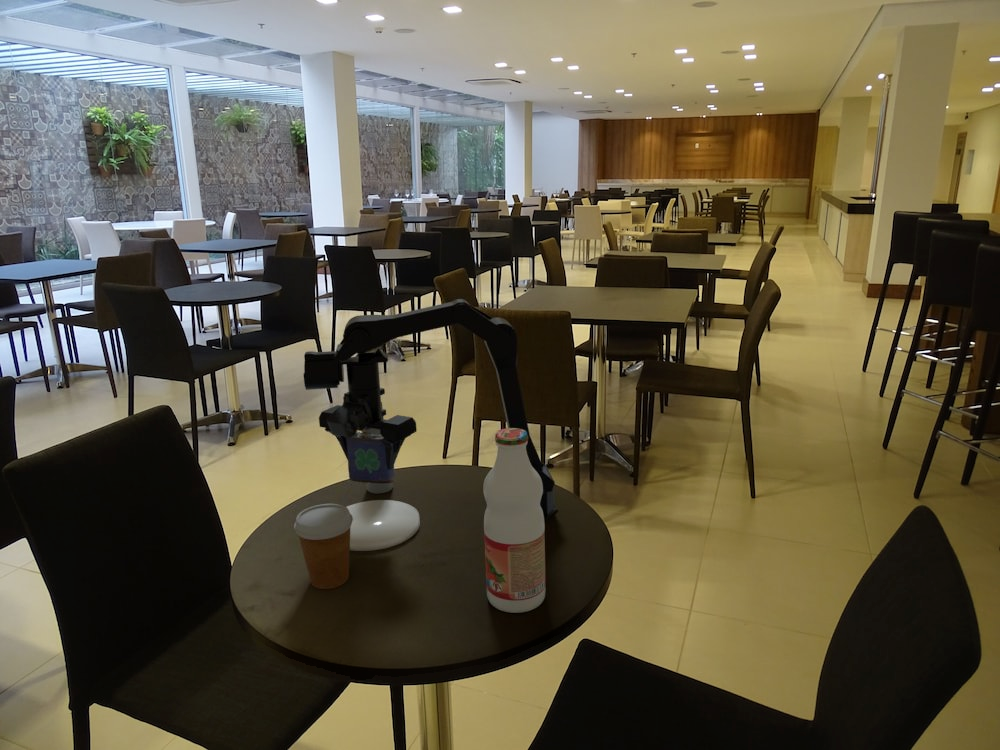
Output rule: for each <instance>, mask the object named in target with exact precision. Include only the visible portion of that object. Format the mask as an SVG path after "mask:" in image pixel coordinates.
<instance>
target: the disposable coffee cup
mask: <svg viewBox="0 0 1000 750" xmlns="http://www.w3.org/2000/svg"><path fill="white" fill-rule="evenodd" d="M352 521H353V517H352V515H351V514H350V512H349V510H348V508H347V506H346V505H342V504H338V503H323V504H317V505H312V506H311V507H308V508H305V509H303V510H302V511H300V512H299V513H298V514H297V515H296V517H295V522H294V524H293V529H294V531H295V532H296V534H297V536H298V538H299V542H300V546H301V550H302V554H303V558H304V561H305V565H306V568H307V573H308V576H309V580H310V584H311V585H312V587H313V588H316V589H320V590H331V589H332V590H333V589H335V588H338V587H340V586H342V585H344V584H345V583H346V582H347V581H348V580H349V577H350V574H349V573H350V572H349V571H350V554H351V553H350V551H351V550H350V527H351V524H352Z"/></svg>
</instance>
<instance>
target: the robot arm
mask: <svg viewBox="0 0 1000 750" xmlns="http://www.w3.org/2000/svg"><path fill="white" fill-rule="evenodd" d="M454 325H460V326H463V327H464V328H466V329H467V330H468V331H470V332H471V333H473V334H474V335H476V336H477V337H478V338H480V339H482V340H483V341H484V344H485V346H486V349H487V351H488V354H489V356H490V359H491V361H492V363H493V366H494V368H495V372H496V377H497V382H498V387H499V391H500V395H501V396H500V397H501V402H502V407H503V411H504V415H505V420H506V421H505V422H506V425H507V428H519V429H523V430H525V431H526V432H527V434H528V443H527V445H526V451H527V455H528V458H529V461H530V463H531V465H532V467H533V468H534V469H535V470H536V472H537V473H538V474H539V476H540V477H541V480H542V485H543V493H542V497H541V501H540V506H541V508H542V511H543V515H544V522H546V521H547V520H548V519H549V518H550V517H551V516H552V515H553V514H554V513H555V512H556V511H557V510H558V506H557V505H555V504H554V503H555V501H554V499H555V497H554V496H555V495H554V486H555V485H556V484H555V483H556V482H555V480H554V478H553V476H552V475H551V473H550V471H549V469H548V467H547V465H546V464H545V463H543V462H542V460H541V458H540V456H539V454H538V451H537V449H536V447H535V444H534V442H533V440H532V438H531V434H530V430H529V425H528V419H527V415H526V410H525V404H524V399H523V394H522V389H521V384H520V379H519V375H518V370H517V368H518V366H517V365H518V357H519V351H518V350H519V349H518V348H519V345H518V344H519V343H518V342H519V341H518V334H517V332H516V330H515V328H514V327H513V326H512V324H510V322H509V321H508V320H506V319H504V318H503V317H492V316H490V315H489V314H487V313H486V312H484V311H482V310H480V309H479V308H477V307H475V306H473V305H471V304H470V303H469V302H468V301H467V300H466V299H463V298H458V299H454V300H452V301H450V302H444V303H441V304H436V305H432V306H426V307H423V308H418V309H413V310H408V311H403V312H401V313H397V314H387V315H386V314H364V315H363V314H362V315H359V314H358V315H355V316H353V317H351V318H350V319H349V320H348V321H347V323H346V324H345V326H344V329H343V335H342V340H341V341H340V343H338V344H337V346H336V349H335V350H332V351H330V350H329V351H313V350H312V351H305V352H304V357H303V358H304V366H303V367H304V370H303V371H304V372H303V382H304V388H305V390H306V391H309V390H323V389H324V390H325V389H339V385H341V383H344V382H345V371H344V370H345V369H344V365H345V366H346V375H347V376H346V377H347V379H346V380H347V389H348V391H346V392H345V393H343V397H342V398H343V403H342V404H341V405H338V404H336V405H335V406H332V407H329V408H327V409H324V410H322V411H321V412H320V413H319V414H320V415H319V416H318V423H319V428H324V430H325V432H327V433H329V434H332V436H334V437H336V438H335V439H337V441H338V443H339V445H340V448H341V449H342V451H343V454H344V456H345V459H346V460H347V461H348V453H347V441H346V438H350V437H352V436H354V435H355V433H356V431H357V432H362V431H363V429H364V428H365V427H369V428H375V429H380V434H381V435H382V437H383V439H381V440H380V441H381V442H382V443H383V444H384V445H385V454H386V464H387V469H388V470H391V469H392V468H393V466H394V467H395V463H396V461H397V458H398V455H399V454H400V450H401V448H402V446H403V444H404V442H405V441H406V439H407V438H408V437H411V436H412V434H414V433H417V421H416V420H415V419H414V417H411V416H405V415H401V414H397V415H394V416H392V417H390V418H388V419H382V417H383V418H384V417H385V416H386V415H387V409H385V408H383V407H382V408H383V409H382V408H381V402H382V398H381V397H382V396H383V395H385V391H386V390H385V388H383V387H381V385H380V381H381V380H380V368H379V364H380V363H388V361H389V354H387V353H386V352H384V351H383V350H382V348H381V346H383V345H386V344H387V343H389V342H391V341H392V340H396V339H398V338H402V337H406V336H410V335H414V334H418V333H419V334H420V333H423V332H428V331H433V330H438V329H441V328H442V329H443V328H445V327H449V326H454ZM374 349H375V350H374ZM373 350H374V351H373ZM356 354H357V356H354V355H356Z"/></svg>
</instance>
